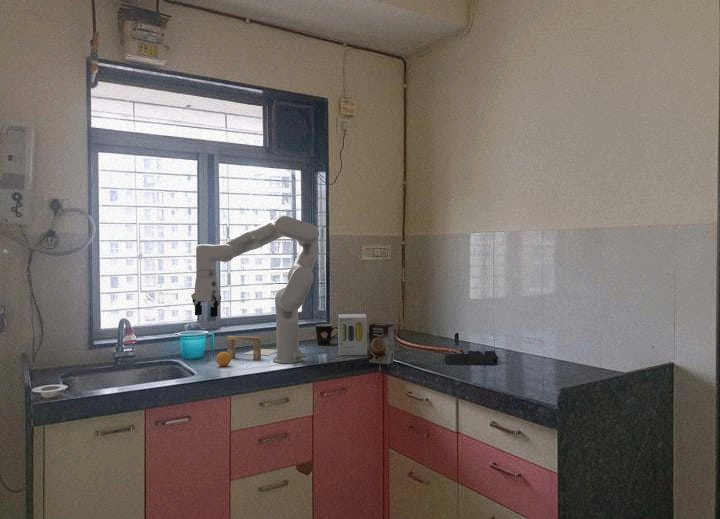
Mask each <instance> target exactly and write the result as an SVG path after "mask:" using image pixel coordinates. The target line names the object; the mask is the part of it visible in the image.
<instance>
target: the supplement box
mask: <svg viewBox="0 0 720 519" xmlns="http://www.w3.org/2000/svg"><path fill="white" fill-rule="evenodd" d="M337 316H338V318H337V319H338V321H337V322H338V323H337V324H338V325H337V328H338V329H337V333H338V335H337V337H338V338H337V339H338V340H337V341H338V342H337V343H338V345H337V346H338V347H337V348H338V356H367V355H368V329H367V328H368V326H367V325H368V324H367V323H368V322H367V321H368V318H367V315H366V313H346V314H343V313H342V314H341V313H339V314H338V315H337Z"/></svg>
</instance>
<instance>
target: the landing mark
mask: <svg viewBox="0 0 720 519" xmlns="http://www.w3.org/2000/svg"><path fill="white" fill-rule="evenodd" d="M275 353H277V349H270V348H269V349H265V348H261V356H270V355H273V354H275ZM242 355H251V356H253V349H252V350H249V351H247V352H244V353H242Z"/></svg>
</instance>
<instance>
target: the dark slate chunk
mask: <svg viewBox="0 0 720 519" xmlns="http://www.w3.org/2000/svg"><path fill="white" fill-rule="evenodd" d="M498 361H499V356H498V355H497V354H496V351H495V350H484V353H483V352H482V351H480V350H468V351H467V353H446V354H445V355H444V362H445V364H446V365H448V366H477V367H478V366H480V367H481V366H483V367H485V366H486V367H487V366H492V367H493V366H495V367H496V366H498V365H499V364H498Z"/></svg>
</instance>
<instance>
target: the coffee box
mask: <svg viewBox="0 0 720 519" xmlns="http://www.w3.org/2000/svg"><path fill="white" fill-rule="evenodd" d="M394 332H395V324H393V323H392V324H391V323H378V322H375V323H370V324H368V341H369V342H368V343H369V344H368V348H369V349H368V351H369V352H368V354H369V356H368V357H369V358H368V360H369V361H368V362H369V363H370V364H371V363H373V364H382V365H390V364H391V363H395V352H394V351H395V350H394V349H395V337H394V336H395V333H394Z"/></svg>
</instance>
